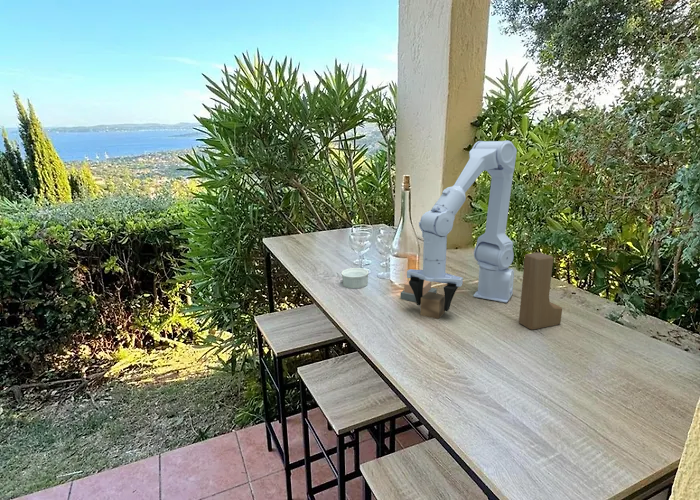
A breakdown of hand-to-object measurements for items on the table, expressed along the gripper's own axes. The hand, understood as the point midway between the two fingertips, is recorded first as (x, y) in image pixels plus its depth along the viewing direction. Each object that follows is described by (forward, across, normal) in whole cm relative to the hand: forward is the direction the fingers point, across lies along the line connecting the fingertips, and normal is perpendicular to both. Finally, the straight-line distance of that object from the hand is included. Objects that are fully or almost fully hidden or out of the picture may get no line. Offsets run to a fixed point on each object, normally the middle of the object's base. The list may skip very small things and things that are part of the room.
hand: (432, 306), depth 105 cm
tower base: (+2, -8, +9) cm, 12 cm away
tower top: (0, -8, +9) cm, 12 cm away
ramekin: (+2, -30, +9) cm, 31 cm away
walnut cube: (+2, 0, 0) cm, 2 cm away
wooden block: (+2, +25, +7) cm, 26 cm away
